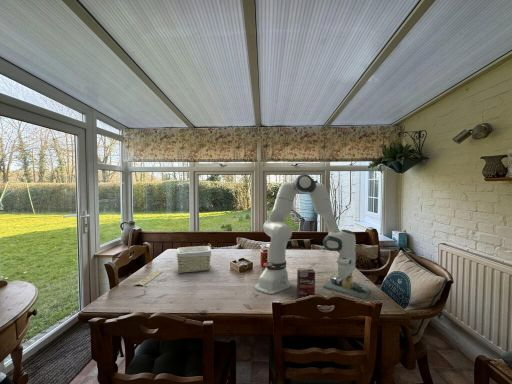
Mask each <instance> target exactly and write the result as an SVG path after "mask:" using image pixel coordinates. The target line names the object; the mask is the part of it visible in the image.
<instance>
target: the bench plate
mask: <svg viewBox="0 0 512 384" xmlns="http://www.w3.org/2000/svg"><path fill="white" fill-rule="evenodd" d="M322 288H323V289H328V290H330V291H335V292H338V293H341V294H345V295H348V296H350V297H355V298H359V299H362V300H365V299H366V297H367V296H368V295H369V293H370V292H371V289H370V288H368V292H364V291H363V292H362V293H360V292H356V289H355V290H354V289H351V290H350V289H346V288H342V286H339V285H338V284H337V285H334V284H332V283H331V280H330V279H329V281H327V282H326V283H325V284H324V285H322Z"/></svg>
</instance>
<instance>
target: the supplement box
mask: <svg viewBox="0 0 512 384" xmlns="http://www.w3.org/2000/svg"><path fill="white" fill-rule="evenodd" d="M296 271H297V275H296V277H297V278H296V299H297V298H302V297H306V296H309V295H316V293H315V291H316V290H315V289H316V271H315V270H314V269H313V268H310V269H309V268H308V269H307V268H306V269H305V268H304V269H303V268H301V269H297V270H296Z"/></svg>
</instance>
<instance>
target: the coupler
mask: <svg viewBox="0 0 512 384" xmlns="http://www.w3.org/2000/svg"><path fill="white" fill-rule="evenodd" d="M346 281H347V282H346V284H343V281H342V288H346V289H350V290H351V289H352V284H353V282H354V278H353V275H352V276H349V275H348V276H347V277H346Z"/></svg>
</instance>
